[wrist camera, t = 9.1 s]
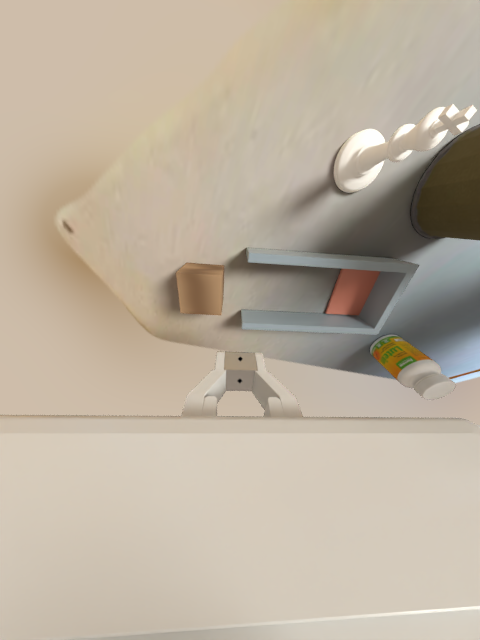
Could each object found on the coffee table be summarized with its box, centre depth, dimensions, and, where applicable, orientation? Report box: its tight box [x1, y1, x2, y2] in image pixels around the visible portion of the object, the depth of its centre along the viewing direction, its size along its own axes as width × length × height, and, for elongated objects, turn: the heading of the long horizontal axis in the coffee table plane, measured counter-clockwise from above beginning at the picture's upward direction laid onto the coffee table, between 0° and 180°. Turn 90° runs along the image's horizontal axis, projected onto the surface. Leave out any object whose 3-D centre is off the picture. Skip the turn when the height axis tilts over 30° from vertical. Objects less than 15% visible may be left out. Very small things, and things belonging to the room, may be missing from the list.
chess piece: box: [334, 104, 477, 193], centre depth 14 cm, size 5×5×10 cm
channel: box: [241, 248, 419, 335], centre depth 23 cm, size 20×10×4 cm, turn 86°
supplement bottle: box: [370, 335, 456, 400], centre depth 27 cm, size 5×5×10 cm
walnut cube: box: [176, 263, 224, 315], centre depth 22 cm, size 5×5×5 cm
